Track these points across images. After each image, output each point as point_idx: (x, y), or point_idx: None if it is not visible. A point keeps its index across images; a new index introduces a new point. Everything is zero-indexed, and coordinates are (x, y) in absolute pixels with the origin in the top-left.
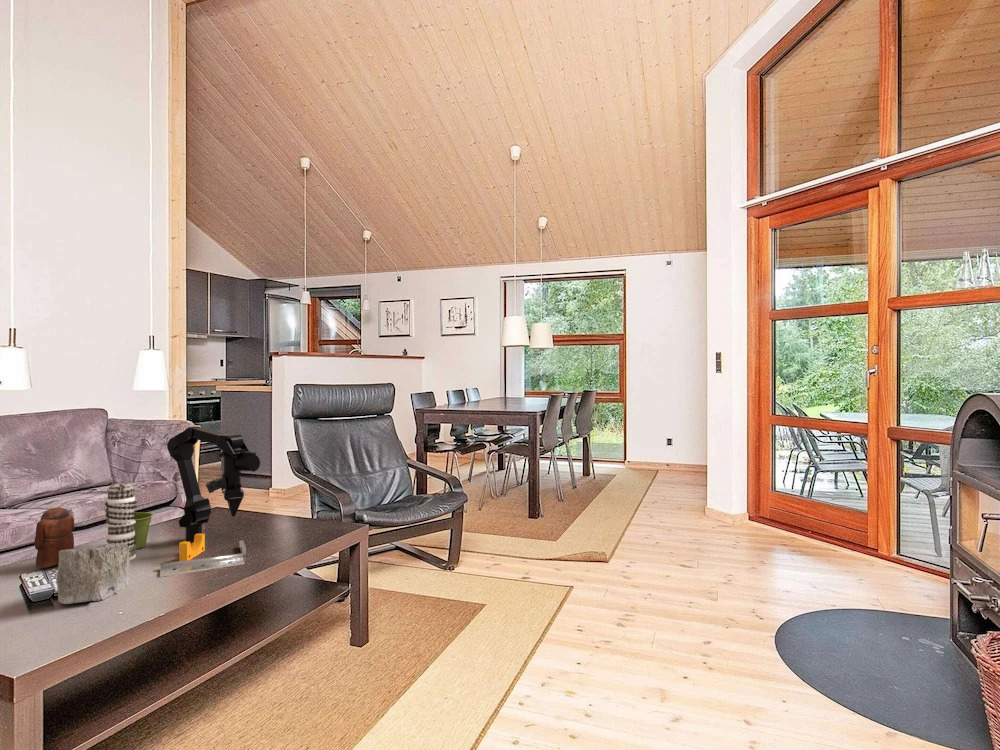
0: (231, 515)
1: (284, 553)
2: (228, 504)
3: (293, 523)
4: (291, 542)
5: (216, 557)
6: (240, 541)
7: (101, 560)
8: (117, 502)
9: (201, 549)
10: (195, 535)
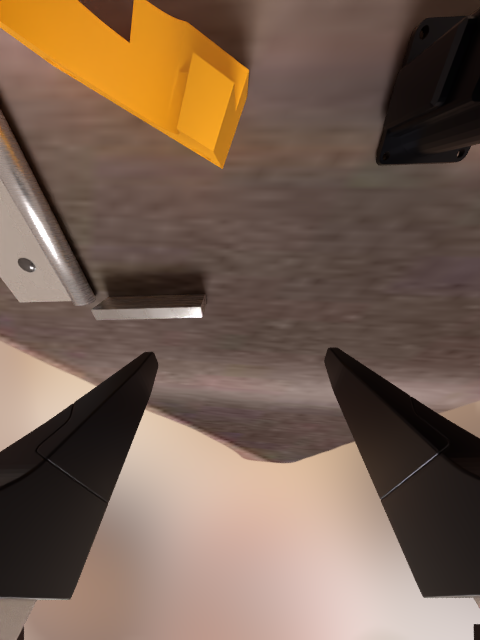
0: (145, 354)
1: None
2: (361, 381)
3: None
4: (222, 391)
5: (24, 218)
6: (190, 309)
7: None
8: None
9: (191, 147)
10: (190, 65)
